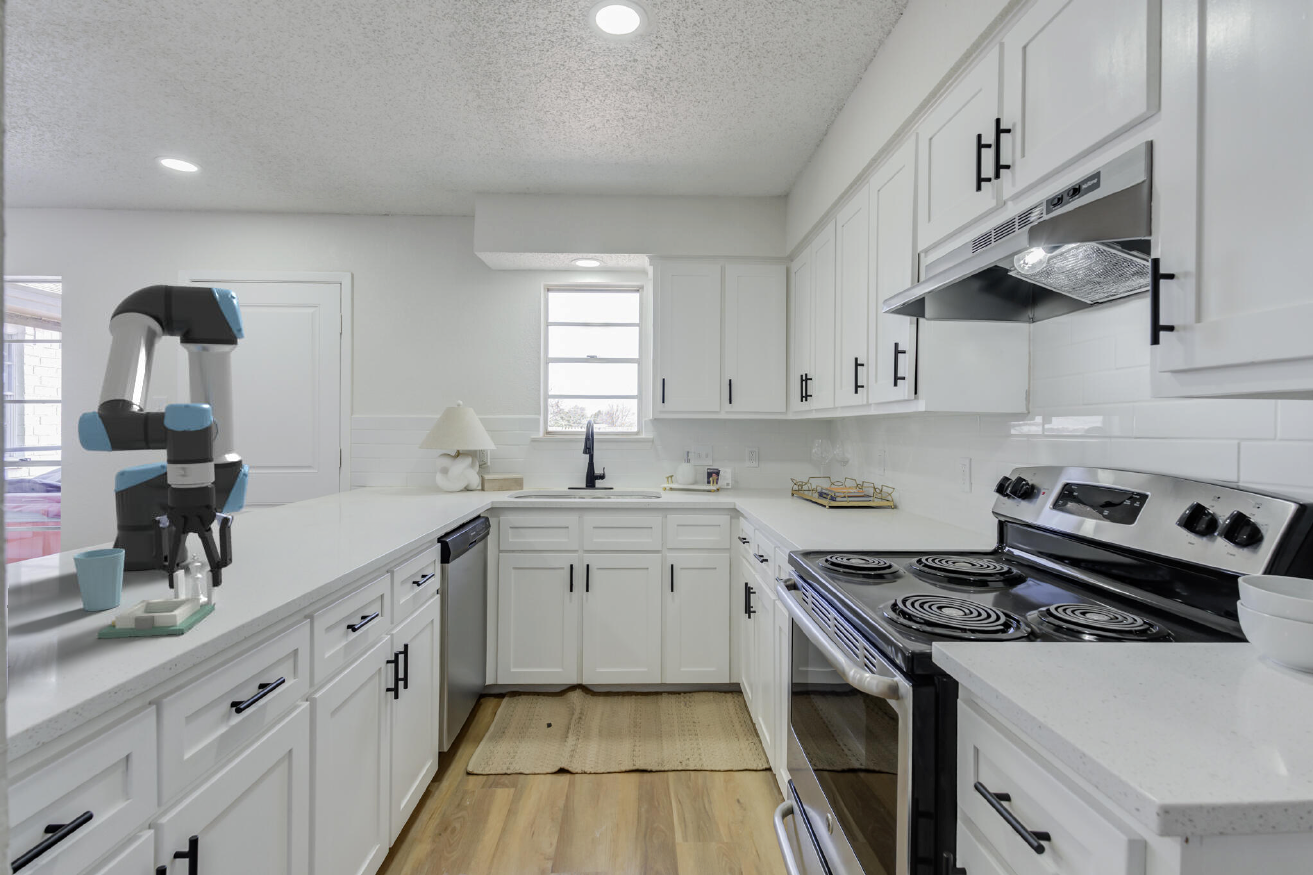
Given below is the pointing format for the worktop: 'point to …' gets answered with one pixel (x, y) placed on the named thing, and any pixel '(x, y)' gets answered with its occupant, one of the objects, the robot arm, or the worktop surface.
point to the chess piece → (196, 581)
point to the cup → (100, 578)
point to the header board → (157, 618)
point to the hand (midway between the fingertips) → (196, 603)
